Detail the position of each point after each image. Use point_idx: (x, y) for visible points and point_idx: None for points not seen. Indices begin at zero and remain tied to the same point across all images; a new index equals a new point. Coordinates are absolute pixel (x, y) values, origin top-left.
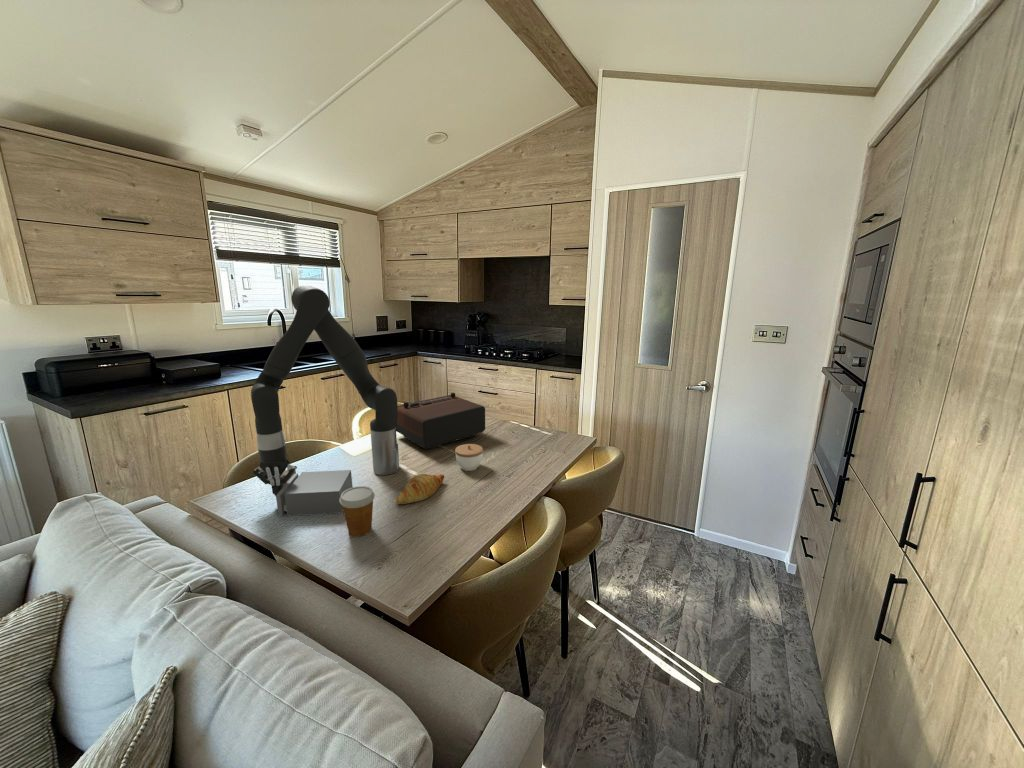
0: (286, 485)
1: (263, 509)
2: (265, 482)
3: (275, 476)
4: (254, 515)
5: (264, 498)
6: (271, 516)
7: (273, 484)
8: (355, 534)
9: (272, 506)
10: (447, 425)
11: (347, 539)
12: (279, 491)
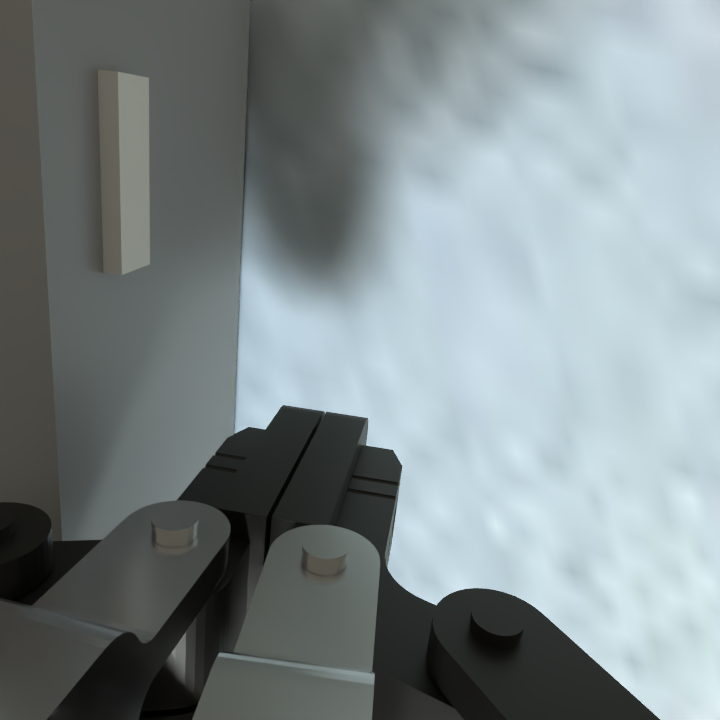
0: (8, 463)
1: (550, 288)
2: (515, 628)
3: (41, 706)
4: (649, 120)
5: (609, 602)
6: (368, 26)
7: (301, 543)
8: None
9: (439, 348)
10: None
11: None
12: (34, 139)
